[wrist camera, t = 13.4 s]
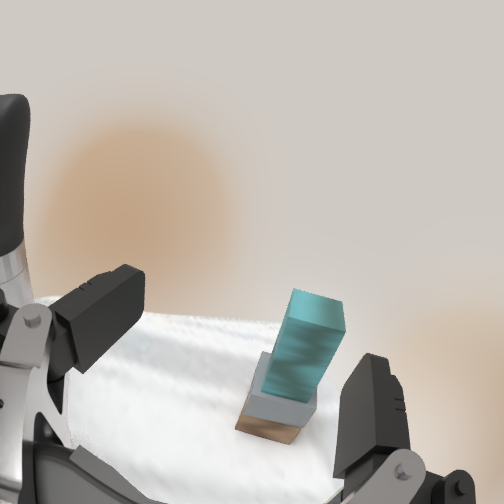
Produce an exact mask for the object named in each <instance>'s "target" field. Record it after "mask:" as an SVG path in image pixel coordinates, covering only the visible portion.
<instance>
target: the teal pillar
mask: <svg viewBox="0 0 504 504" xmlns="http://www.w3.org/2000/svg"><path fill="white" fill-rule="evenodd" d="M345 332H346V329H345V321H344V312H343V305H342V302H341V301H337V300H334V299H330V298H326V297H323V296H319V295H315V294H312V293H308V292H305V291H301V290H297V289H293V292H292V295H291V298H290V302H289V304H288V308H287V310H286V314H285V316H284V319H283V322H282V325H281V328H280V331H279V334H278V337H277V340H276V342H275V345H274V348H273V351H272V354H271V356H270V359H269V362H268V366H267V370H266V374H265V378H264V381H263V385H262V389H261V392H263V393H267V394H271V395H274V396H278V397H282V398H286V399H290V400H295V401H299V402H304V403H307V402H308V401H309V399H310V397H311V396H312V394H313V392H314V391H315V389H316V387H317V385H318V384H319V382H320V380H321V378H322V377H323V375H324V373H325V371H326V369H327V367H328V366H329V364H330V362H331V360H332V358H333V356H334V354H335V352H336V350H337V348H338V346H339V345H340V343H341V341H342V339H343V336H344V334H345Z"/></svg>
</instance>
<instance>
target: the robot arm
mask: <svg viewBox="0 0 504 504" xmlns="http://www.w3.org/2000/svg"><path fill="white" fill-rule="evenodd" d="M29 131H30V107H29V103H28V100H27V98H26V97H25V96H24V95H21V94H6V95H0V504H166V503H162V502H158V501H154V500H151V499H149V498H147V497H146V496H144V495H143V494H142V493H141V492H140V491H138V490H137V489H136V488H135V487H134V486H133V485H131V484H130V483H129V482H128V481H127V480H126V479H125V478H124V477H123V476H121V475H120V474H119V473H118V472H117V471H116V470H115V469H114V468H113V467H111V466H110V465H108V464H107V463H105V462H103V461H102V460H100V459H99V458H97V457H96V456H95V455H93V454H92V453H90V452H89V451H87V450H86V449H85V448H83V447H82V446H81V445H79V446H78V447H77V449H76V450H73V449H72V441H71V436H70V431H69V428H68V424H67V399H68V382H69V373H68V371H69V370H70V369H71V368H72V367H74V368H75V369H77V370H78V371H79V372H81V373H82V374H84V373H85V372H86V371H87V370H88V369H89V368H90V367H91V366H92V365H93V364H94V363H95V362H96V361H97V360H98V359H99V358H100V357H101V356H102V355H103V354H104V353H105V352H106V351H107V350H108V349H109V348H110V347H111V346H112V345H113V344H114V343H115V342H117V341H118V340H119V339H120V338H121V337H122V336H123V335H124V334H125V333H126V332H127V331H128V330H129V329H130V328H131V327H132V326H133V325H134V324H135V323H136V322H137V321H138V320H139V319H140V317H141V315H142V313H143V310H144V293H145V274H144V272H143V271H141V270H139V269H136V268H134V267H132V266H130V265H127V264H124V265H122V266H120V267H119V268H117V269H115V270H114V271H112V272H111V271H109V272H106V273H102V274H99V275H96V276H95V277H93V278H91V279H90V280H89V281H87V283H83V284H82V285H80V286H79V288H76V289H74V290H73V291H71V292H70V293H68V294H67V295H65V296H64V297H62V298H61V299H59V300H58V301H56V302H55V303H53V304H52V305H50V306H49V307H46V306H44V305H42V304H37V303H35V301H34V297H33V292H32V287H31V282H30V276H29V270H28V264H27V258H26V250H25V240H24V230H23V213H24V175H25V163H26V155H27V148H28V140H29ZM405 410H406V408H405V402H404V395H403V389H402V386H401V385H400V383H399V381H398V379H397V378H396V376H395V375H391V373H390V367H389V362H388V359H387V358H384V357H380V356H377V355H373V354H370V353H366V354H365V355H364V356H363V358H362V359H361V361H360V362H359V364H358V365H357V366H356V368H355V369H354V371H353V372H352V374H351V375H350V377H349V378H348V380H347V381H346V383H345V384H344V387H343V389H342V392H341V396H340V408H339V423H338V435H337V446H336V455H335V464H334V472H333V478H338V479H345V480H344V486H343V487H342V488H341V489H339V490H338V491H337V492H336V493H335V494H334V495H333V496H331V497H330V498H329V499H328V500H327V501H326V502H325V503H323V504H476V498H475V485H474V481H473V479H472V477H471V476H470V475H469V474H468V473H467V472H466V471H464V470H455V471H453V472H452V473H450V474H449V475H447V476H446V477H442V476H440V475H437V474H434V473H431V472H428V471H426V469H425V464H424V462H423V460H422V459H421V457H420V456H419V455H418V454H417V453H415V452H413V451H411V449H410V439H409V430H408V422H407V415H406V412H405Z"/></svg>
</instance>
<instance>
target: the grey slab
mask: <svg viewBox="0 0 504 504" xmlns="http://www.w3.org/2000/svg"><path fill="white" fill-rule="evenodd" d="M270 356H271V353H267V352H264V351H262V353H261V356H260V359H259V362H258V365H257V367H256V370H255V373H254V377H253V380H252V384H251V387H250V391H249V395H248V398H247V402H246V405H245V409H244V412H243V414H245V415H249V416H252V417H256V418H260V419H264V420H268V421H272V422H277V423H281V424H286V425H290V426H295V427H300V428H303V427H304V426H305V425H306V423H307V422H308V420H309V419H310V418H311V416H312V415H313V414H314V412H315V411H316V407H317V387H316V389H315V391H314V392H313V394H312V396H311V397H310V399H309V401H308V402H307V403H304V402H299V401H295V400H290V399H286V398H282V397H278V396H274V395H271V394H267V393H263V392H261V389H262V385H263V381H264V378H265V374H266V370H267V366H268V362H269V359H270Z"/></svg>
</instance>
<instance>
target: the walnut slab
mask: <svg viewBox="0 0 504 504" xmlns="http://www.w3.org/2000/svg"><path fill="white" fill-rule="evenodd" d="M248 395H249V394H248ZM247 398H248V396H247ZM246 402H247V399H246V401H245V404H244V407H243V409H242V412H241V414H240V417H239V419H238V422H237V424H236V427H235V429H237V430H240V431H243V432H246V433H249V434H253V435H256V436H259V437H263V438H266V439H270V440H273V441H277V442H281V443H285V444H290V443H291V442H292V441H293V439H294V438H295V437H296V436H297V434H298V433H299V432H300V430H301V428H300V427H295V426H290V425H286V424H281V423H277V422H272V421H268V420H264V419H260V418H256V417H252V416H249V415H245V414H243V412H244V409H245V405H246Z"/></svg>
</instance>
